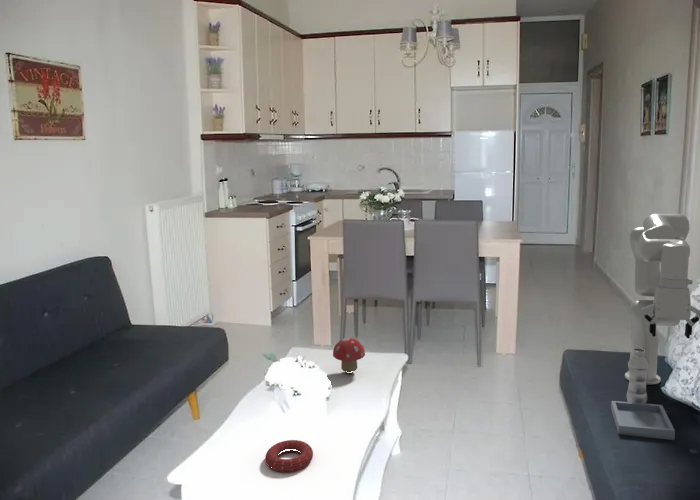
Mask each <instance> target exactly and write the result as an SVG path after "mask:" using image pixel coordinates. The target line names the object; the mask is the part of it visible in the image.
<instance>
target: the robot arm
mask: <svg viewBox="0 0 700 500" xmlns="http://www.w3.org/2000/svg"><path fill="white" fill-rule="evenodd" d="M689 233H690V221H689V220H688V218H687V216H686V215H684V214H682V213H653V214H649V215H648V216H646V217H645V219H644V220H643V223H642V226H640V227H634V228H633V229H631V231H630V232H629V244H630V248H631V250H632V253H633V256H634V257H633V258H634V262H635V263H634V290H635V293H636V294H637V295H638V296H641V297H642V296H643V297H650V298H651V297H654V298H653V299H638V300H634V301H633V302H631V304H630V307H629V314H630V315H629V316H630V327H631V328H630V330H631V332H630V349H629V350H630V351H629V352H630V354H629V355H630V356H629V360H630V359H631V358H632V357H633V349H635V348H639V349H643V350H645V356H644V358H645V359H646V361H647V362H648V372H647V377H646V386H647V385H651V386H652V385H658V384H659V383H660V382H661V381H662V380H661V379H662V378H661V376H659V375H658V374H657V373H658V372H657V371H658V370H657V369H658V353H659V351H658V350H659V334H658V333H657V326H665V327H676V326H678V325H679V324H680V322H681V321H686V323H685V326H684V336H685V338H686V339H690V336H692V334H693V326H694V325H695V324H696V323H698V322H699V321H700V309H698V308H696V307H694V306H692V305H691V301H692V300H691V291H690V287H689V285H693V280H692V279H690V278H689V277H688V275H689V259H690V256H691V246H690V244H689V243H688V242H687V241H686V239H687V237H688V236H689V235H688V234H689ZM692 312H693V313H695V316H693V317H692V318H691V316H692V315H691V313H692ZM624 378H625V379H626V380H627V381H629V370H628V371H626V372H625V374H624Z"/></svg>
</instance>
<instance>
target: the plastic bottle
mask: <svg viewBox="0 0 700 500" xmlns="http://www.w3.org/2000/svg"><path fill="white" fill-rule="evenodd" d="M644 356H645V350H643V349H639V348H635V349H633V357H632V358H631V359H630V358H629V359H628V362H627V368H628V371H629V380H628V381H629V382H628V387H627V391H626V400H627V401H626V402H633V403H645V404H647V401H648V393H647V385H646V377H647V372H648V362H647V361H646V359H645V358H644Z"/></svg>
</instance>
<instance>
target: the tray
mask: <svg viewBox="0 0 700 500" xmlns="http://www.w3.org/2000/svg"><path fill="white" fill-rule="evenodd" d="M610 411H611V413H612V417H613V420H614V424H615V427H616V431H617V434H618V435H620V436H630V437H640V438H648V439H649V438H650V439H659V440H671V441H675V438H676V437H675V436H676V430H675V428H674V426H673V424H672V422H671V420H670V418H669V416H668V413H667V412H666V410H665V408H664V406H663V404H653V403H646V404H645V403H633V402H628V401H621V400H620V401H619V400H611V402H610Z"/></svg>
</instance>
